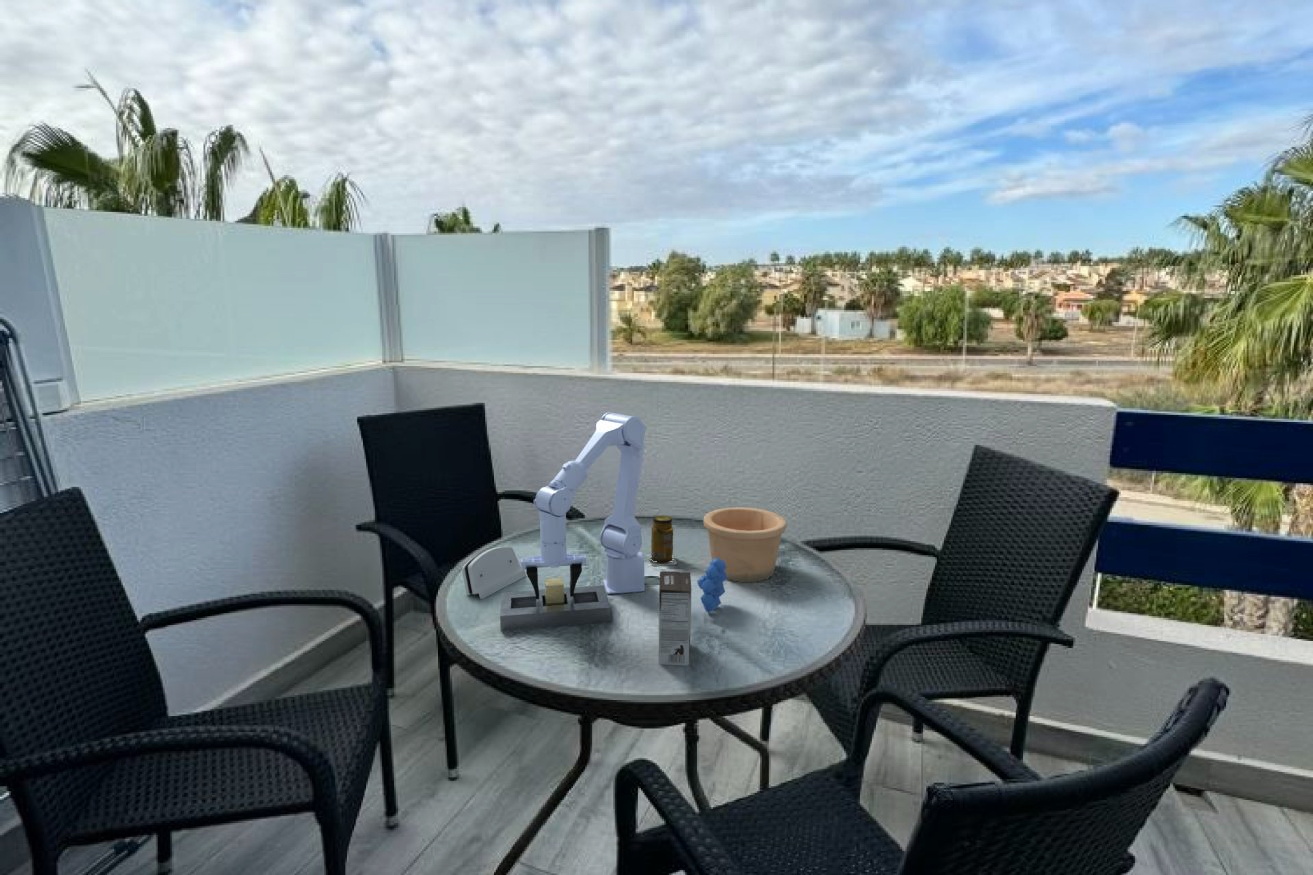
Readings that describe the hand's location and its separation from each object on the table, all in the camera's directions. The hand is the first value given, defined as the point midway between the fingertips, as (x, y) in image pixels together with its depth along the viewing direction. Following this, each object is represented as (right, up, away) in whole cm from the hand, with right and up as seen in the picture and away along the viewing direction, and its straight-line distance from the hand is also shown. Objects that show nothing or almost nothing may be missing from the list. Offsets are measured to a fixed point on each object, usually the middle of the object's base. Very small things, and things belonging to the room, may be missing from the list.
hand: (554, 596), depth 149 cm
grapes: (+36, -4, +5) cm, 36 cm away
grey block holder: (0, -4, +1) cm, 4 cm away
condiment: (+25, +2, +34) cm, 42 cm away
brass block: (0, -4, +1) cm, 4 cm away
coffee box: (+27, -8, -16) cm, 32 cm away
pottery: (+47, 0, +27) cm, 54 cm away
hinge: (-18, -1, +17) cm, 25 cm away
